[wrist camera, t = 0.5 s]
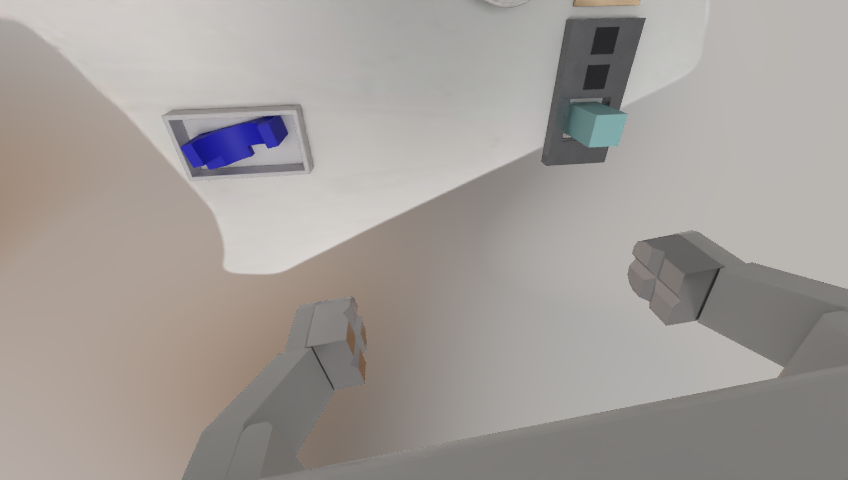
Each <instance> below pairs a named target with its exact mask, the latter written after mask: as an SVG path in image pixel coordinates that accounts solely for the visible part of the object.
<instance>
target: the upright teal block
mask: <svg viewBox="0 0 848 480" xmlns="http://www.w3.org/2000/svg"><path fill="white" fill-rule="evenodd" d="M626 118H627V114H626V113H624V112H622V111H619V110H616V109H614V108H611V107H609V106H606V105H603V104H601V103H598V102H578V103H570V104H569V108H568V113H567V118H566V123H565V128H564V133H566V134H568V135H569V136H571V137H572V138H574V139H576V140H577V141H579V142H580V143H582V144H584V145H585V146H587V147H589V148H590V147H607V146H618V144H619V141H620V137H621V134H622V131H623V127H624V124H625V121H626Z"/></svg>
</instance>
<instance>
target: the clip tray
mask: <svg viewBox="0 0 848 480" xmlns="http://www.w3.org/2000/svg"><path fill="white" fill-rule="evenodd" d="M274 115H293V119H294V123H295V128H296V132H297V137H298V141H299V145H300V150H301V154H302V159H303V163H304V164H286V165H269V166H252V167H234V168H217V169H212V170H209V169H201V167H197V168H193V166H192V165H191V163H190V162H189V160H188V159H187V157H186V156H185V154H184V153H183V151H182V150H181V148H180V147H181V146H182V145H184V144H185V143H187V142H188V141H190V140H189V138H188V135H187V133H186V130H185V128H184V125H183V123H182V120H186V119H208V118H230V117H252V116H274ZM162 119H163V121H164V123H165V126H166V128H167V130H168V133H169V135H170V137H171V139H172V142H173V144H174V146H175V149H176V151H177V153H178V156H179V158H180V160H181V163H182V165H183V167H184V169H185V172H186V174H187V176H188V179H189V181H202V180H219V179H235V178H252V177H269V176H285V175H302V174H310V173H311V171H312V169H313V163H312V158H311V153H310V148H309V144H308V139H307V134H306V129H305V125H304V120H303V115H302V110H301V106H300V105H289V106H266V107H243V108H220V109H197V110H174V111H171V112H169V113H166V114H164V115H162Z"/></svg>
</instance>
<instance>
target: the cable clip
mask: <svg viewBox="0 0 848 480" xmlns="http://www.w3.org/2000/svg"><path fill="white" fill-rule="evenodd" d="M287 134H288V132H287V129H286V127H285V125H284V123H283V121H282V118H281V116H280V115H274V116H266V117H262V118H258V119H255V120H251V121H247V122H243V123H240V124H236V125H232V126H229V127H225V128H221V129H217V130H214V131H210V132H206V133H203V134H199V135H198V136H196V137H195V138H193V139H192V140H190V141H188V142H187V143H185V144H184V145H182V146H181V147H180V148H181V150H182V151H183V153H184V154H185V156H186V157H187V159H188V160H189V162H190V163H191V165H192V166H193V168H197V167H200V166H204V165H205V164H206V165H207V167H208V169H209V170H212V169H215V168H219V167H223V166H227V165H229V164H231V163H234V162H236V161H239V160H241V159H244V158H247V157H251V156H253V155H254V154H255V153H254V151H253V149H252V147H251V145H256V144H266V146H267V148H272V147H276V146H279V145H280V143H281V142H282V141H283V139H284V138H285V137H286V136H287Z"/></svg>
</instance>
